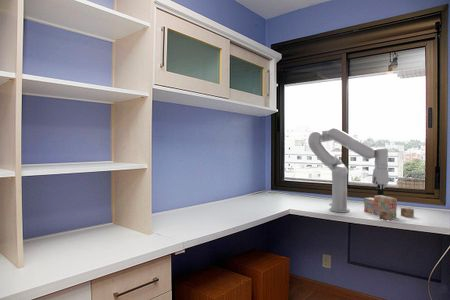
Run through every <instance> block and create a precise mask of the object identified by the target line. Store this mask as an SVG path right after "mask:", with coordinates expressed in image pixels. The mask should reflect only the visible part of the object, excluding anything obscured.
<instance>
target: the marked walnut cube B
mask: <svg viewBox="0 0 450 300" xmlns="http://www.w3.org/2000/svg"><path fill="white" fill-rule="evenodd" d="M414 211H415V209H414V208H410V207H400V216H402V217H405V218H414V217H415V212H414Z"/></svg>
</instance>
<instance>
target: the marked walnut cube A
mask: <svg viewBox="0 0 450 300" xmlns="http://www.w3.org/2000/svg"><path fill="white" fill-rule="evenodd" d="M381 219H383V220H382V221H386V220H389V221H392V220H393V218H392V212H391V211H386V210H383V211H380V216H379V220H381Z"/></svg>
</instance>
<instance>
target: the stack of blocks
mask: <svg viewBox="0 0 450 300" xmlns="http://www.w3.org/2000/svg"><path fill="white" fill-rule="evenodd" d="M397 201H398V199H397V198H396V197H393V196H388V195H387V196H386V195H373V197H363V203H364V204H363V208H364V212H366V213H370V214H372V213H373V215H376V216H379V217H380V211H383V210H386V211H391V212H392V219H394V218H396V219H397V209H398V208H397V205H398V204H397Z"/></svg>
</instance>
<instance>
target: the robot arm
mask: <svg viewBox="0 0 450 300" xmlns="http://www.w3.org/2000/svg"><path fill="white" fill-rule="evenodd" d="M331 141H334V142H335V143H337V144H339V145H340V146H343V147H344V148H346V149H348V150H350V151H352V152H353V153H356V154H357V155H359V156H361V157H362V158H364V159H366V160H371V159H374V168H373V171H372V175H371V176H372V180H371V182H372V184H373V186H374V187H376V189H377V196H379V195H382V196H385V195H384V194H385V193H384V189H386V188H385V187H387V186H388V183H389V182H390V181H389V179H390V177H389V175H390V174H389V167H388V165H389V163H388V162H389V150H388V148H386V147H377V148H375V147H370V146H368V145H366V144H365V143H363V142H362V141H359V140H357V138H355V137H354V136H353V135H350V134H348V133H346V132H345V131H343V130H341V129H340V128H338V127H332V126H331V127H330V128H329V129H326V130H320V131H319V130H313V131H312V132H311V133H310V134H309V136H308V141H307V142H308V146H309V149H310V151H311V152H312V153H313V154H314V155H315V156H316V158H318V160H319V161H320V163H322V164H323V165H324V166H325V167H327V168H328V169H329V170H330V171H331V180H332V181H331V185H332V186H331V188H332V189H331V191H332V192H331V195H332V197H331V198H332V199H331V200H332V202H331V203H329V205H328V206H330V208H329V210H330V212H336V213H348V212H350V209H349V208H348V173H349V171H348V170H349V169H348V167H347V166H346V165H345V164H344V163H343V162H342V161H341V160H340V159H339V158H338V157H337V156H336V155H335V154H334V153H331V152H330V151H329V150H328V149H327V148H326V146H325V145H324V144H323V143H326V142H331Z"/></svg>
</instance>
